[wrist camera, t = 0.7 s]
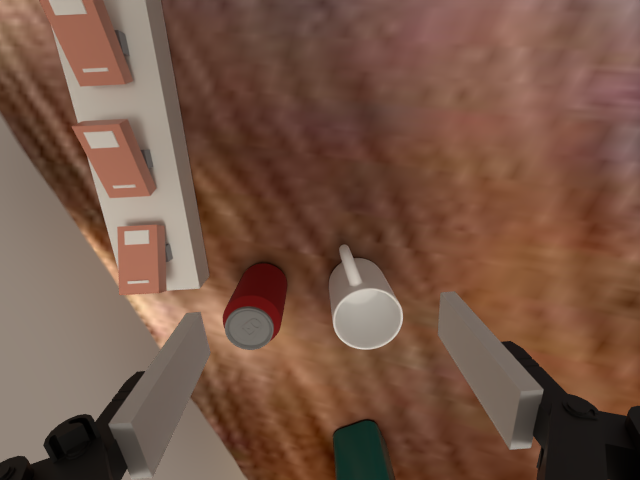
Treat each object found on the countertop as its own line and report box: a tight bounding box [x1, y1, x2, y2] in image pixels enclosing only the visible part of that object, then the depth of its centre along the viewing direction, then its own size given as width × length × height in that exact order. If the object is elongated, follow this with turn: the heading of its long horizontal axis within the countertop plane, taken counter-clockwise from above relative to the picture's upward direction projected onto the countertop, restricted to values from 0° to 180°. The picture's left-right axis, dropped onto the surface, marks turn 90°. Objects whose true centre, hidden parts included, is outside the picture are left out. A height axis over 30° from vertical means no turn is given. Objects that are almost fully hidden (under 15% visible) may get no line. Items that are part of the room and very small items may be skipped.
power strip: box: [51, 0, 209, 290], centre depth 36 cm, size 37×10×5 cm, turn 3°
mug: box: [329, 244, 403, 349], centre depth 39 cm, size 12×8×10 cm
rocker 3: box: [117, 225, 167, 295], centre depth 36 cm, size 8×5×2 cm, turn 2°
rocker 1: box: [39, 0, 133, 87], centre depth 29 cm, size 8×5×2 cm, turn 3°
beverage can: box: [223, 263, 287, 350], centre depth 39 cm, size 7×7×12 cm
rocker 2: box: [72, 119, 156, 198], centre depth 32 cm, size 8×5×2 cm, turn 3°
